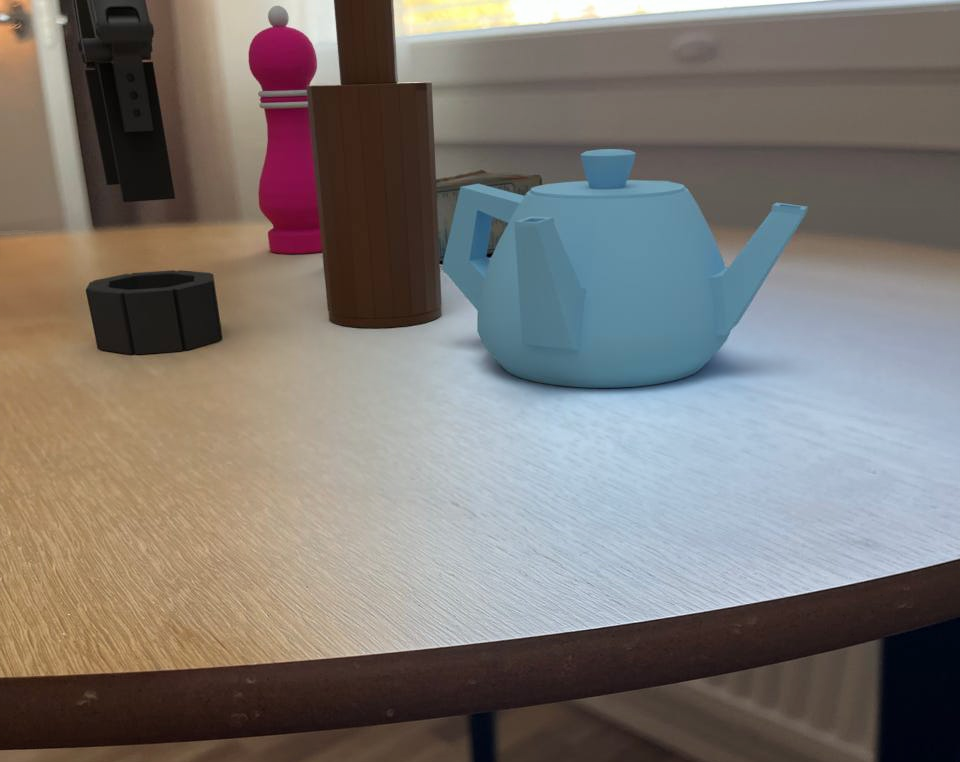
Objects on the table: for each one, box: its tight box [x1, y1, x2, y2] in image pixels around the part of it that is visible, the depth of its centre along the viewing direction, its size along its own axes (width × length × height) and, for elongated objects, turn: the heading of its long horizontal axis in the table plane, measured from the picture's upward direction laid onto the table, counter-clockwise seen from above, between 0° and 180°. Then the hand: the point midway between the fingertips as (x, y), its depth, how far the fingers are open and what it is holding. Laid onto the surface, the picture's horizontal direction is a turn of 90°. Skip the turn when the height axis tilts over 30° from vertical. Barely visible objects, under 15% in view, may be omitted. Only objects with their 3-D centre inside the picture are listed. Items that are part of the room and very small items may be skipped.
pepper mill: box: [248, 5, 322, 255], centre depth 94 cm, size 7×7×20 cm
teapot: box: [441, 148, 809, 389], centre depth 55 cm, size 15×15×11 cm
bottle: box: [306, 0, 442, 329], centre depth 66 cm, size 8×8×19 cm
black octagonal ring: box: [85, 269, 223, 356], centre depth 65 cm, size 8×8×4 cm
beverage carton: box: [436, 169, 543, 262], centre depth 91 cm, size 8×19×7 cm, turn 125°
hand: (138, 191), depth 61 cm, fingers open, 13 cm apart
